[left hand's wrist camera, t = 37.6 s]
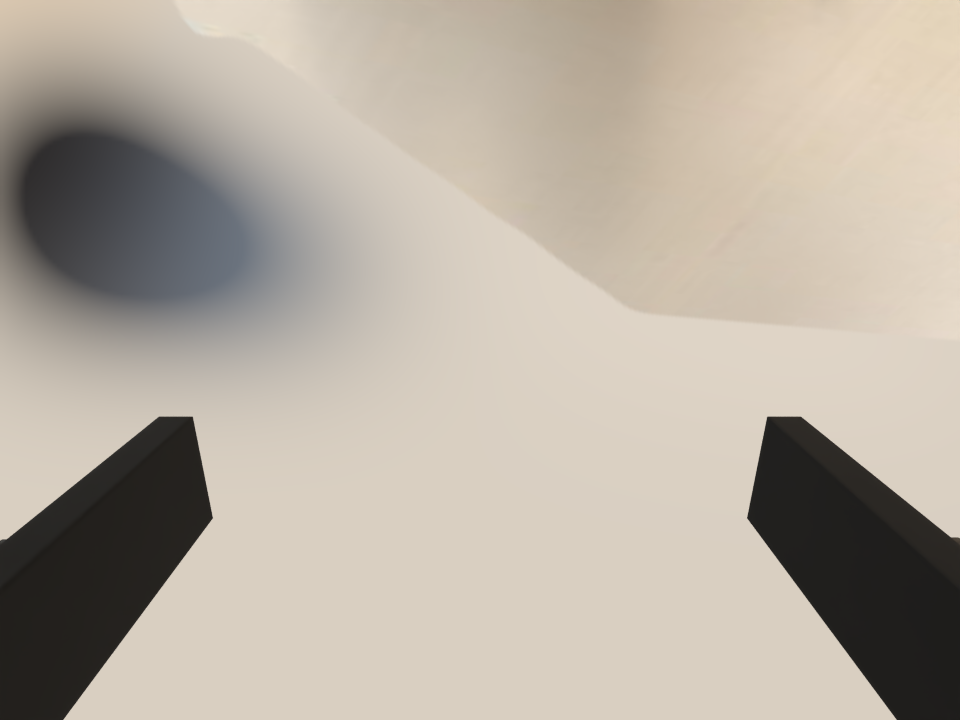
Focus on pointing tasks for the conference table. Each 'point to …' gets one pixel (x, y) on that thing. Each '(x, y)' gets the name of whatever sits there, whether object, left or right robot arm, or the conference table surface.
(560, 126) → the conference table surface
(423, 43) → the conference table surface
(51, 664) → the left robot arm
